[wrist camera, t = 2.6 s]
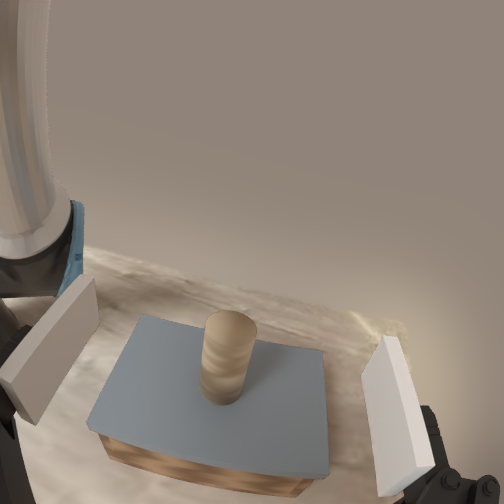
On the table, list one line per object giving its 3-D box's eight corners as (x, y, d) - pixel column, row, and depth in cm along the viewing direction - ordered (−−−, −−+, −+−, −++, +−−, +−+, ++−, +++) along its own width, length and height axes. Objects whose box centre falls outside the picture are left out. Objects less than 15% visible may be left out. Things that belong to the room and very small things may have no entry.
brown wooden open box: (109, 458, 29) (95, 427, 25) (148, 365, 43) (145, 326, 39) (295, 497, 29) (319, 474, 25) (298, 396, 43) (315, 361, 39)
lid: (89, 429, 25) (62, 362, 20) (143, 322, 40) (141, 252, 35) (324, 479, 25) (372, 427, 20) (318, 358, 40) (346, 294, 35)
